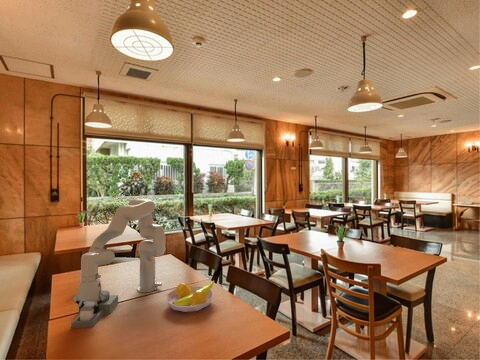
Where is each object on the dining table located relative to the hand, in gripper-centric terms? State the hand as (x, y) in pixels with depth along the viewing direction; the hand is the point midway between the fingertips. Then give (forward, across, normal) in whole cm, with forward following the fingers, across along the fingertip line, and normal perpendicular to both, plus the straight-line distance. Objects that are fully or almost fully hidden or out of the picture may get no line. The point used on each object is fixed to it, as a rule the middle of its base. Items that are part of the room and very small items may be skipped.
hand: (89, 312), depth 133 cm
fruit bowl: (+4, -50, -12) cm, 52 cm away
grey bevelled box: (+3, 0, 0) cm, 3 cm away
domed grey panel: (+4, 0, -5) cm, 6 cm away
